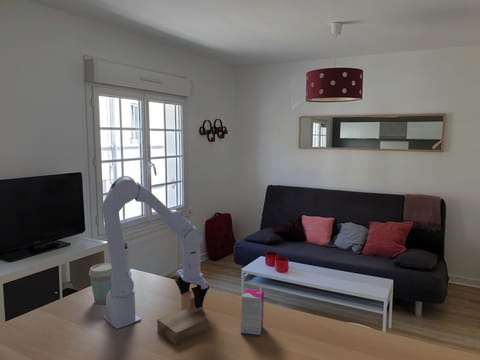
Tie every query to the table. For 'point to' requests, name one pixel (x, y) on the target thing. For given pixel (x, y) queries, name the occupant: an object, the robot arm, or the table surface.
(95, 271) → the coffee cup
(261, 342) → the table surface
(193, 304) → the terracotta cube
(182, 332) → the walnut block
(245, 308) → the supplement box
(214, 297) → the table surface
